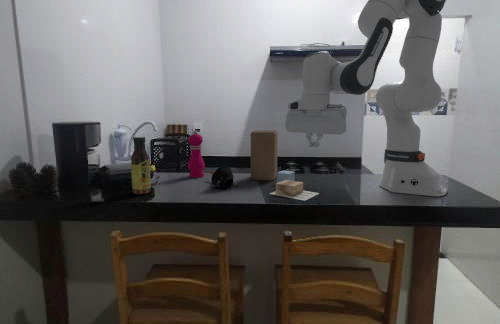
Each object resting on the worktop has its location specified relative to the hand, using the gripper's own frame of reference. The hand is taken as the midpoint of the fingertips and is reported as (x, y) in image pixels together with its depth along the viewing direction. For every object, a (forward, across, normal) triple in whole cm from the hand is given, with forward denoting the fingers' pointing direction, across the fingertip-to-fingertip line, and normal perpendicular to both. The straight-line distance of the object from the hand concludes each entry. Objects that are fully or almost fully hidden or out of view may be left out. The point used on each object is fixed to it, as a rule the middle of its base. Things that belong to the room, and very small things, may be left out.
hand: (314, 147), depth 111 cm
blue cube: (+17, +17, -11) cm, 27 cm away
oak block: (+17, +9, 0) cm, 19 cm away
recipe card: (+17, +7, 0) cm, 18 cm away
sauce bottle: (+17, +52, +30) cm, 63 cm away
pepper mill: (+17, +56, -1) cm, 59 cm away
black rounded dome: (+17, +37, +5) cm, 41 cm away
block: (+17, +30, -15) cm, 38 cm away
